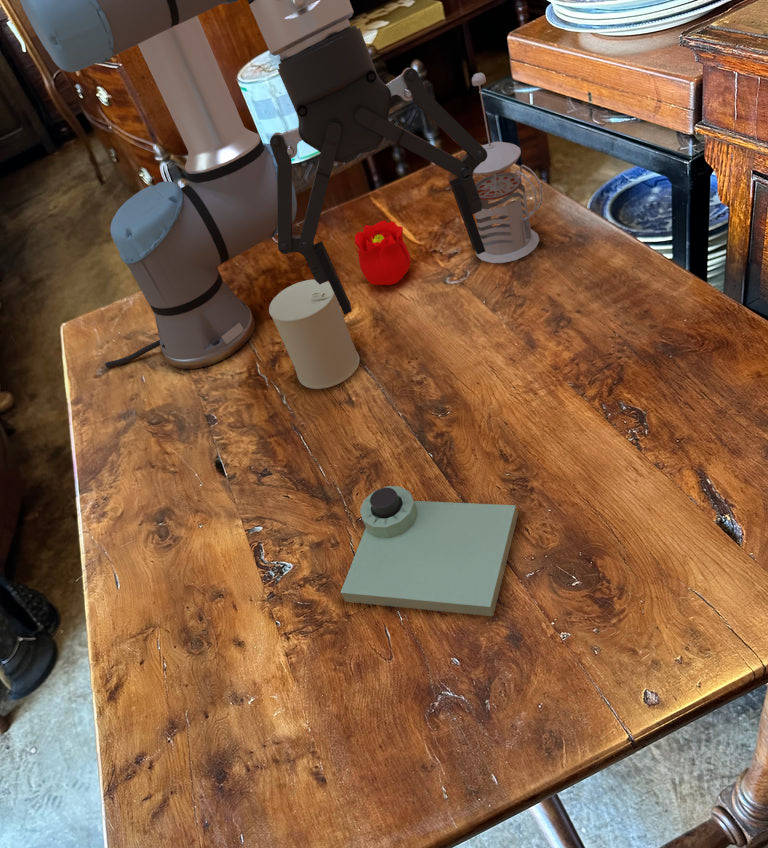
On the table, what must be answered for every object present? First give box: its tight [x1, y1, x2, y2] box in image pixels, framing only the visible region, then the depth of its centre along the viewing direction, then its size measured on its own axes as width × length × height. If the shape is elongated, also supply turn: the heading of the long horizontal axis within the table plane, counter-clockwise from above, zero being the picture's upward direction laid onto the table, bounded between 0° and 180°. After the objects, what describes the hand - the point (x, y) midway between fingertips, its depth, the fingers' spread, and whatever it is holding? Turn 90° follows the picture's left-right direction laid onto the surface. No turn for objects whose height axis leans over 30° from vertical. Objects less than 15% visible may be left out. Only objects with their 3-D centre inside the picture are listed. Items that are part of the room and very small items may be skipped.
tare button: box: [370, 487, 401, 518], centre depth 85 cm, size 3×3×2 cm
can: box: [268, 278, 361, 390], centre depth 107 cm, size 9×9×12 cm
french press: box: [471, 72, 543, 264], centre depth 111 cm, size 10×12×25 cm
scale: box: [340, 485, 519, 617], centre depth 83 cm, size 16×13×4 cm
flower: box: [353, 220, 412, 286], centre depth 120 cm, size 8×8×8 cm
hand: (412, 280), depth 75 cm, fingers open, 13 cm apart
